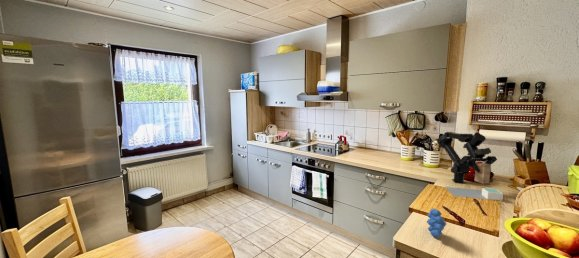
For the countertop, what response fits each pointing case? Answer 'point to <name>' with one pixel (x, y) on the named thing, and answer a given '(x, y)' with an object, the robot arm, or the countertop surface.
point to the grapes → (435, 223)
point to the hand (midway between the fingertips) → (484, 172)
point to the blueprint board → (476, 193)
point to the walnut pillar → (483, 173)
